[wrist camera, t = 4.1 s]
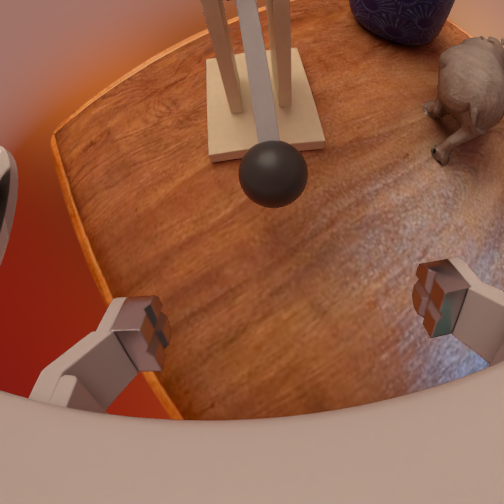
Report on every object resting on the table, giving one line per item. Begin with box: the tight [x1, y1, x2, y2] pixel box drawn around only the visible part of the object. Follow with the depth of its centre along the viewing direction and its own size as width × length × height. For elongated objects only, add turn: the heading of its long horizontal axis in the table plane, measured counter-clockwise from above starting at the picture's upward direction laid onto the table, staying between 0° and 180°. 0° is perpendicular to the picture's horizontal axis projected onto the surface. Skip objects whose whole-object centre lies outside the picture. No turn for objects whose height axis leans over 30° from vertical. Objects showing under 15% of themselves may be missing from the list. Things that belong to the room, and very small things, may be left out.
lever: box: [227, 0, 308, 208], centre depth 14 cm, size 16×4×4 cm
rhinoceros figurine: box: [423, 36, 504, 165], centre depth 18 cm, size 8×14×15 cm
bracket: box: [200, 0, 325, 163], centre depth 17 cm, size 12×9×15 cm
